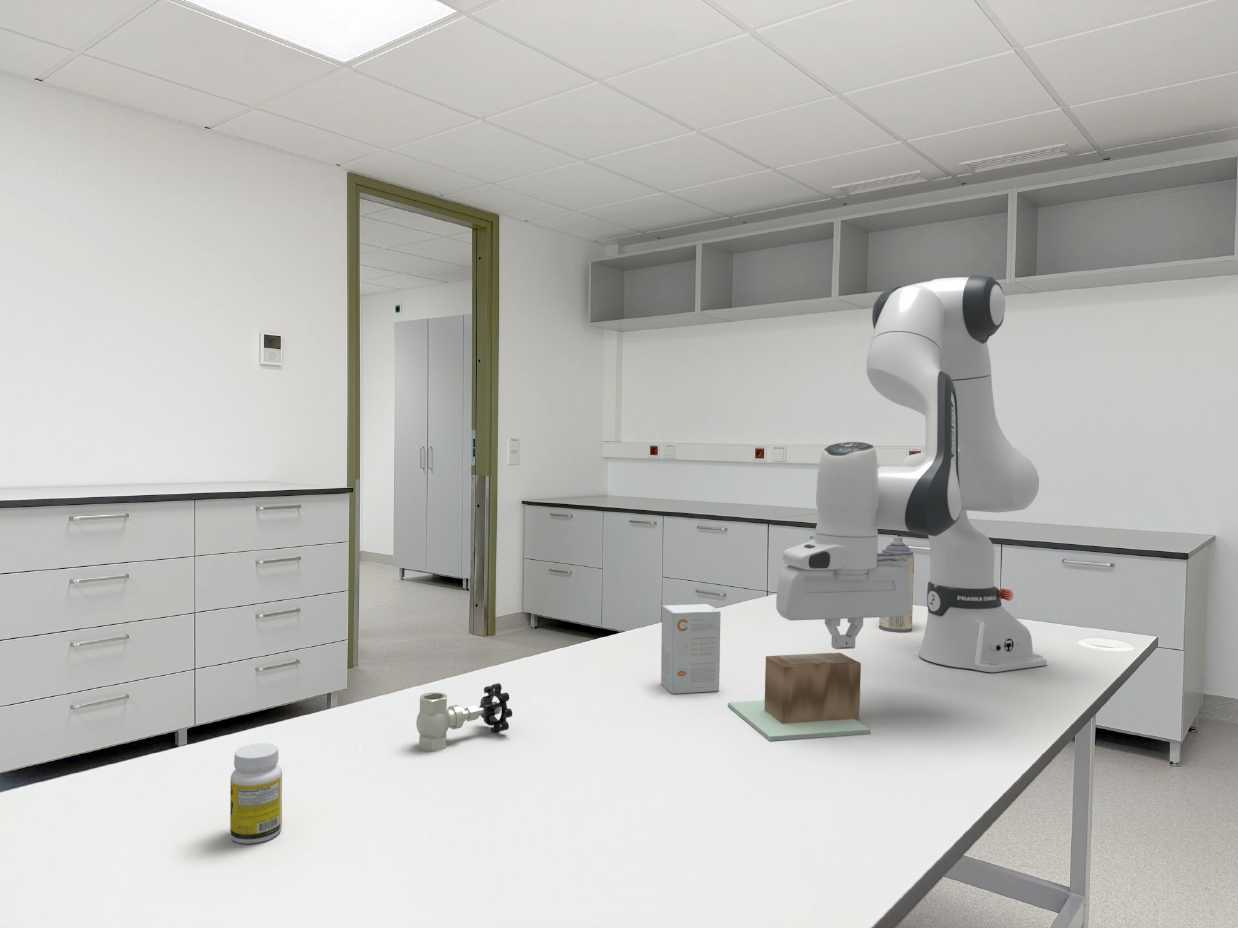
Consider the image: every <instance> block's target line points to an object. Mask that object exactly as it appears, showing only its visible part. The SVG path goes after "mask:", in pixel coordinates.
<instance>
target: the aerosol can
mask: <svg viewBox="0 0 1238 928" xmlns="http://www.w3.org/2000/svg"><path fill="white" fill-rule="evenodd" d="M881 553H885V554H891V553H899V554H901V556H903V557H905V558H906V559H907V561H908V562H909V577H908V578H909V585H910V594H911V610H910V611H909V613H908V614H907V616H903V617H878V619H879V621H878V624H879V626H878V627H879V629H880V630H882V631H885V632H891V633H911V632H912V631H913V610H914V609H913V606H914V605H913V604H914V578H915V577H914V575H915V572H914V569H915V568H914V566H915V556H914V551H911V549H910V548H909V546H908V545H906V544H905V542H903V537H901V536H894V537H893V541H892V542H890V543H889V544H888V545H887V546H886V547H885V549H882V550H881ZM901 560H903V559H901ZM887 561H892V560H887Z"/></svg>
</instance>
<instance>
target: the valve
mask: <svg viewBox="0 0 1238 928" xmlns="http://www.w3.org/2000/svg"><path fill="white" fill-rule="evenodd" d="M483 693H484V694H487V695H485V696H482V698H481V699H480V705H479V707H478V706H477V705H476V704H475V705H472V706H471V705H470V706H467V707H465V708H462V707H461V706H460V705H459V704H453V705H450V706H448V707H447V705H448V704H447V703H448V695H447V694H446V693H443V692H427V693H423V694H421V695H420V697H419V712H418V714H417V717H416V720H415V721H416V729H417V732H418V734H419V738H418V739H419V742H418V747H419V748H418V749H419V751H425V750H426V751H425V752H431V753H433V752H437V751H442V750H446V748H447V733H448V730H449V728H450V729H451V730H458V729H460V728H462V727H463V725H464V722H472V721H475V720H477V719H479V718H480V717H481V718H483V722H484V723H485V724H486V725H488V726H491V727H490V731H491V732H492V733H493V732H494V734H495V732H496V733H500V732H503V731H508V730H509V729H510V725H509V723H508V721H507V719H508V718H512V717H513V709H511V708H508V704H507V702H509V700H510V695H509V693H508V692H503V693H502V685H501V683H500V682H499V683H493V684H492V685H489V686H485V687H484V688H483ZM495 697H496V699H497V700H498V701H497V700H496V701H493V700H494V698H495ZM499 714H500V718H499V719H498V718H497V717H496V716H497V715H499Z"/></svg>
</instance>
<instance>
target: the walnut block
mask: <svg viewBox="0 0 1238 928" xmlns="http://www.w3.org/2000/svg"><path fill="white" fill-rule="evenodd" d="M861 669H862V662H860V661H859V660H855V659H854V658H851V657H850V656H848V655H846V654H843V653H841V652H823V653H822V652H821V653H820V652H819V653H801V654H799V653H798V654H779V655H778V654H777V655H765V675H764V677H765V678H764V679H765V680H764V700H765V708H764V710H765V711H766V712H767V713H769V714H770V715H771V716H773V717H774V718H775V719H776V720H778V721H779V722H780V723H782V724H786V723H801V722H816V721H831V720H845V719H855V720H857V719H859V720H860V711H861V709H860V708H861V675H862V674H861V673H862V670H861Z"/></svg>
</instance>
